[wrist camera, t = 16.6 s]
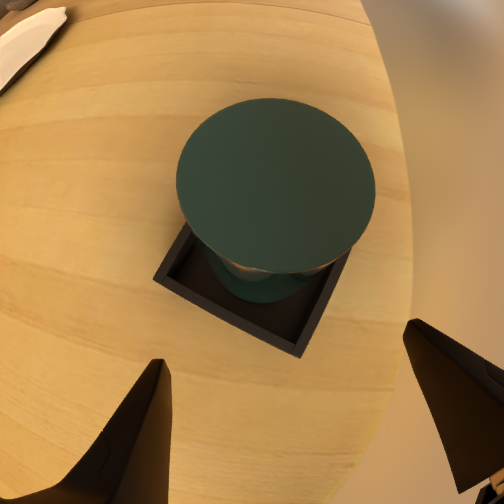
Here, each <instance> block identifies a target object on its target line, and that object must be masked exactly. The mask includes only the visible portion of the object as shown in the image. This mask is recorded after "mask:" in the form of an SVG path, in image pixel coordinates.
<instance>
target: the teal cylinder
mask: <svg viewBox="0 0 504 504" xmlns="http://www.w3.org/2000/svg"><path fill="white" fill-rule="evenodd" d="M176 189H177V196H178V200H179V204H180V207H181V210H182V212H183V214H184V216H185V218H186V220H187V222H188V224H189V226H190V228H191V230H192V232H193V234H194V236H195V238H196V240H197V242H198V244H199V245H200V247H201V249H202V251H203V253H204V255H205V257H206V259H207V261H208V262H209V264H210V266H211V268H212V270H213V272H214V274H215V275H216V277H217V279H218V281H219V282H220V284H221V285H222V286H223V288H224V289H225V290H226V291H227V292H229V293H230V294H231V295H232V296H234V297H235V298H237V299H239V300H241V301H244V302H247V303H250V304H257V305H265V304H272V303H276V302H279V301H281V300H283V299H285V298H287V297H289V296H290V295H291V294H293V293H294V292H295V291H297V290H298V289H299V288H301V287H302V286H303V285H305V284H306V283H307V282H309V281H310V280H311V279H312V278H314V277H315V276H316V275H318V274H319V273H320V272H322V271H323V270H324V269H325V268H327V267H328V266H329V265H330V264H332V263H333V262H334V261H335V260H337V259H338V258H339V257H341V256H342V255H343V254H344V253H346V252H347V251H348V250H349V249H350V248H351V247H352V246H353V245H354V244H355V243H356V242H357V241H358V240H359V239H360V237H361V236H362V234H363V233H364V231H365V230H366V228H367V226H368V223H369V221H370V219H371V216H372V212H373V209H374V203H375V180H374V174H373V171H372V167H371V164H370V161H369V159H368V157H367V155H366V153H365V151H364V149H363V148H362V146H361V145H360V143H359V142H358V140H357V139H356V138H355V137H354V135H353V134H352V133H351V132H350V131H349V130H348V129H347V128H346V127H345V126H344V125H342V124H341V123H340V122H339V121H337V120H336V119H335V118H333V117H332V116H330V115H329V114H327V113H325V112H323V111H321V110H319V109H317V108H315V107H312V106H310V105H307V104H304V103H301V102H297V101H293V100H287V99H277V98H262V99H254V100H248V101H244V102H240V103H237V104H234V105H231V106H228V107H226V108H224V109H222V110H220V111H218V112H217V113H215V114H214V115H212V116H211V117H209V118H208V119H207V120H205V121H204V122H203V123H202V124H201V125H200V126H199V127H198V128H197V129H196V130H195V131H194V132H193V134H192V135H191V137H190V138H189V139H188V141H187V142H186V144H185V146H184V148H183V150H182V153H181V156H180V159H179V162H178V167H177V172H176Z"/></svg>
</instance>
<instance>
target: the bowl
mask: <svg viewBox="0 0 504 504" xmlns="http://www.w3.org/2000/svg"><path fill="white" fill-rule="evenodd" d="M35 1H36V0H3V4H4V6H5V8H6V9H7V10H10V11H17V10H22V9H25V8H26V7H28V6H29V5H31V4H32V3H33V2H35Z"/></svg>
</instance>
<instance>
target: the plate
mask: <svg viewBox="0 0 504 504" xmlns="http://www.w3.org/2000/svg"><path fill="white" fill-rule="evenodd" d="M66 10H67V7H66V6H64V7H59V8H48V9H45V10H43V11H41V12H39V13H37V14H35V15H33V16H31V17H29V18H27V19H25V20H23V21H21V22H19V23H18V24H16V25H15V26H14V27H12V28H11V29H10V30H9V31H7V32H6V33H5V34H3V35H2V36H1V37H0V96H1V95H2V94H3V93H4V92H5V91H6V90H7V89H8V88H9V87H10V86H11V85H12V84H13V83H14V82H15V81H16V80H17V79H18V78H19V77H20V76H21V75H22V74H23V73H24V72H25V71H26V70H27V69H28V68H29V66H30V65H31V64H32V63H33V62H34V61H35V60H36V59H37V58H38V57H39V55H40V54H41V53H42V52H43V51H44V49H45V48H46V47H47V46H48V44H49V42H50V41H51V39H52V38H53V37H54V36H55V34H56V33H57V32H58V31H59V29H60V28H61V27H62V26H63V24H64V23H65V22H66V20H67V16H66V15H65V13H66Z"/></svg>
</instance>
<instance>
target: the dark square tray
mask: <svg viewBox="0 0 504 504" xmlns="http://www.w3.org/2000/svg"><path fill="white" fill-rule="evenodd" d="M351 249H352V247H351V248H350V249H349V250H348V251H347V252H346V253H344V254H343V255H342V256H341V257H339V258H338V259H337V260H335V261H334V262H333V263H332V264H330V265H329V266H328V267H327V268H325V269H324V270H323V271H322V272H320V273H319V274H318V275H316V276H315V277H314V278H312V279H311V280H310V281H309V282H307V283H306V284H305V285H303V286H302V287H301V288H299V289H298V290H297V291H295V292H294V293H293V294H291V295H290V296H289V297H287V298H285V299H283V300H281V301H279V302H276V303H272V304H265V305H257V304H250V303H247V302H244V301H241V300H239V299H237V298H235V297H234V296H232V295H231V294H230V293H229V292H227V291H226V290H225V289H224V288H223V286H222V285H221V284H220V282H219V281H218V279H217V277H216V275H215V274H214V272H213V270H212V268H211V266H210V264H209V262H208V261H207V259H206V257H205V255H204V253H203V251H202V249H201V247H200V245H199V244H198V242H197V240H196V238H195V236H194V234H193V232H192V230H191V228H190V226H189V224H188V222H187V221H186V223H185V225H184V226H183V228H182V230H181V231H180V233H179V235H178V236H177V238H176V240H175V241H174V243H173V245H172V246H171V248H170V250H169V251H168V253H167V255H166V256H165V258H164V260H163V262H162V263H161V265H160V267H159V268H158V270H157V272H156V274H155V275H154V277H153V280H154V281H156V282H157V283H159V284H161V285H162V286H164V287H166V288H167V289H169V290H171V291H172V292H174V293H176V294H178V295H179V296H181V297H183V298H184V299H186V300H188V301H190V302H191V303H193V304H195V305H197V306H198V307H200V308H202V309H204V310H206V311H207V312H209V313H211V314H213V315H215V316H216V317H218V318H220V319H222V320H224V321H226V322H228V323H229V324H231V325H233V326H235V327H237V328H239V329H241V330H243V331H245V332H247V333H248V334H250V335H252V336H254V337H256V338H258V339H260V340H262V341H264V342H266V343H268V344H270V345H272V346H274V347H276V348H278V349H280V350H282V351H284V352H286V353H288V354H291V355H293V356H295V357H297V358H299V359H300V358H301V357H302V355H303V353H304V351H305V349H306V347H307V345H308V343H309V341H310V339H311V337H312V335H313V333H314V331H315V329H316V327H317V325H318V323H319V321H320V319H321V316H322V314H323V312H324V310H325V308H326V306H327V304H328V301H329V299H330V297H331V295H332V293H333V291H334V288H335V286H336V284H337V282H338V279H339V277H340V275H341V272H342V270H343V268H344V265H345V263H346V261H347V258H348V256H349V253H350V251H351Z"/></svg>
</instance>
